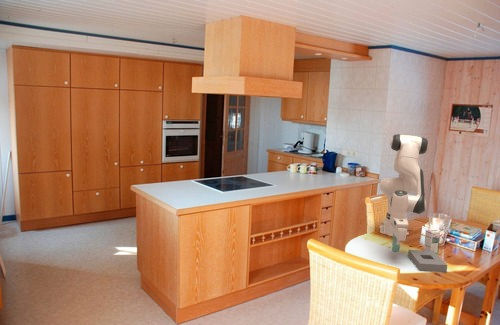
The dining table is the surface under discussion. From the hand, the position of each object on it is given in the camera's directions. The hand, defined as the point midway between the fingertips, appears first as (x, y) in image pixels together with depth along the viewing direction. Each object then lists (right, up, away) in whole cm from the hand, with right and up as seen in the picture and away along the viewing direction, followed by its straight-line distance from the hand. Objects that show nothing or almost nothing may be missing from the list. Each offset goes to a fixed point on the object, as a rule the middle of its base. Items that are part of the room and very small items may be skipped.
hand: (396, 242), depth 224 cm
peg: (0, -5, +1) cm, 5 cm away
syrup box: (+24, -9, +9) cm, 27 cm away
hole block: (+14, -11, -6) cm, 19 cm away
